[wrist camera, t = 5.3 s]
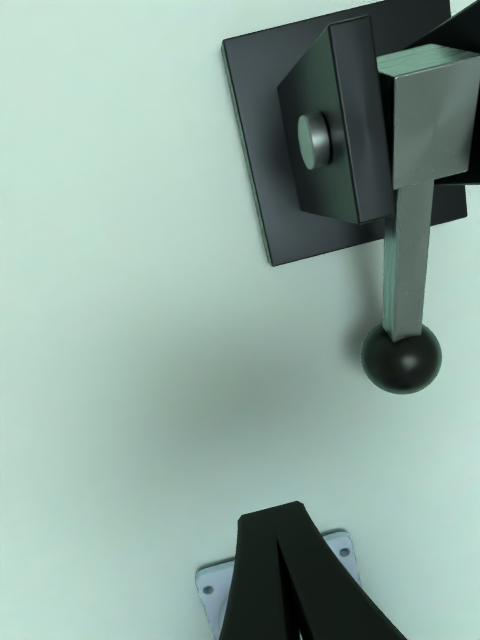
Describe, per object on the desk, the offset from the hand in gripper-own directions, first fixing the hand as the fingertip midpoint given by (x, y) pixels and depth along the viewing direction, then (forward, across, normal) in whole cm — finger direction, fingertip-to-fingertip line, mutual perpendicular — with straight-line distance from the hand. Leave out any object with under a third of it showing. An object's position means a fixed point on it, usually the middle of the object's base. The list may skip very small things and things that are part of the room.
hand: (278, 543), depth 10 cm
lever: (+8, -6, -4) cm, 11 cm away
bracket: (+11, -6, -8) cm, 15 cm away
